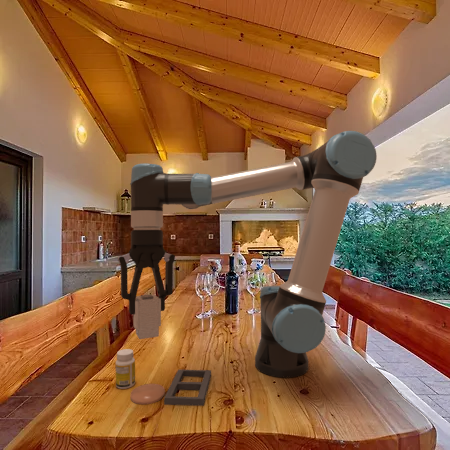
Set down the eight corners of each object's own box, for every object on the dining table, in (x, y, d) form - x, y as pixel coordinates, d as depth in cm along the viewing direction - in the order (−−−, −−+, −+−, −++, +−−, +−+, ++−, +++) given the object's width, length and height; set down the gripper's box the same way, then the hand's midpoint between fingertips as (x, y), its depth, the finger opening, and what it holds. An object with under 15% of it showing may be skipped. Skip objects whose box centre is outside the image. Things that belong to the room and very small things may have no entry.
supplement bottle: (128, 378, 84) (128, 346, 85) (138, 383, 81) (138, 351, 82) (111, 385, 81) (111, 352, 81) (122, 391, 78) (122, 357, 78)
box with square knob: (154, 330, 79) (154, 293, 79) (158, 336, 75) (158, 296, 75) (136, 333, 77) (135, 294, 77) (139, 339, 73) (139, 298, 73)
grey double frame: (211, 375, 85) (211, 370, 85) (203, 405, 71) (203, 399, 71) (178, 375, 86) (178, 369, 86) (164, 404, 72) (164, 397, 72)
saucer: (168, 387, 79) (168, 384, 79) (159, 404, 71) (159, 401, 71) (137, 386, 80) (137, 383, 80) (125, 403, 72) (125, 400, 72)
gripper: (177, 229, 84) (177, 317, 83) (107, 229, 76) (106, 326, 76) (186, 228, 77) (187, 325, 76) (110, 229, 69) (110, 336, 69)
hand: (147, 325), depth 76 cm, fingers closed on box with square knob, 4 cm apart
